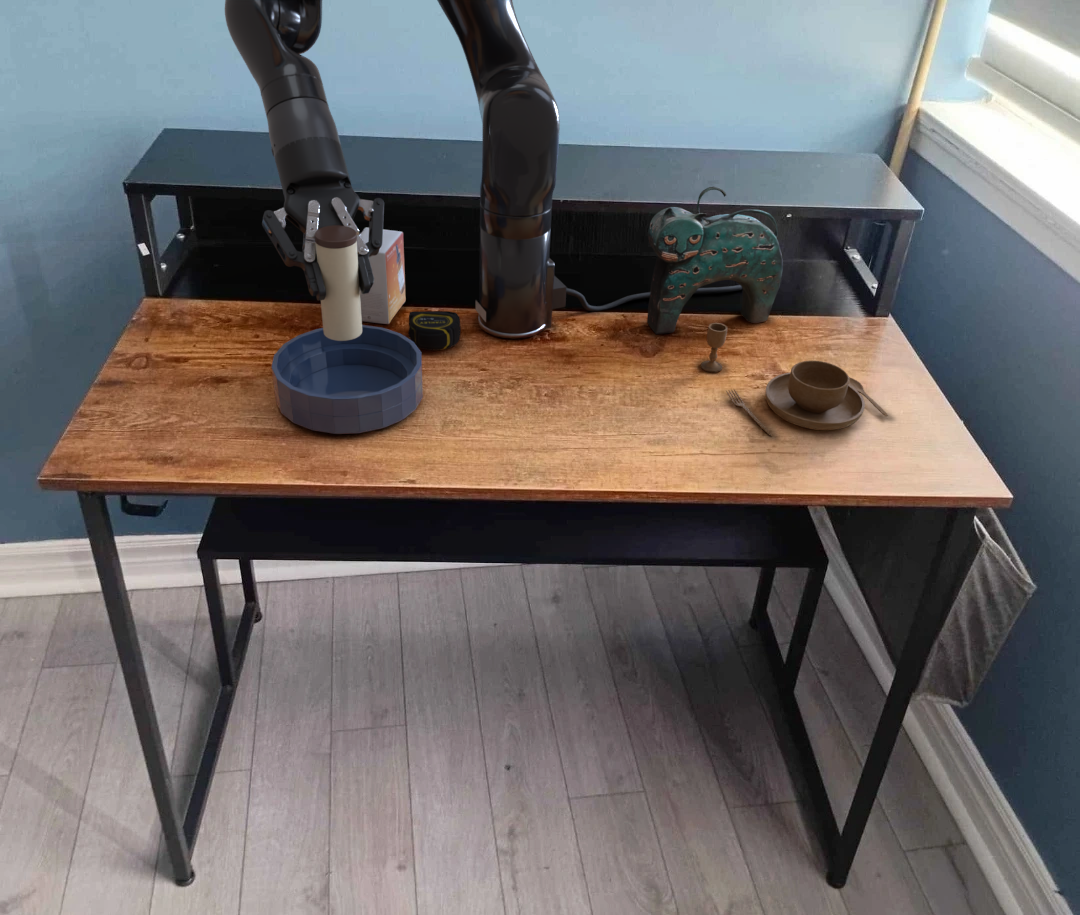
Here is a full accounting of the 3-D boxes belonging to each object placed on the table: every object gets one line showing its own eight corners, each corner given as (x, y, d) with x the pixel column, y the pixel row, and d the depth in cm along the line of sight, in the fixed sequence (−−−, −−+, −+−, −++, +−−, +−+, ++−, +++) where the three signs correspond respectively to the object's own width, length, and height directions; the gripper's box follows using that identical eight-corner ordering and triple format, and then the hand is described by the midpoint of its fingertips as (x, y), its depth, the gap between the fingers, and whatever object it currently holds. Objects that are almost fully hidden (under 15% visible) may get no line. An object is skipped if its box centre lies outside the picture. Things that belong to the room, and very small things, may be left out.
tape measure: (460, 331, 133) (460, 306, 131) (460, 356, 127) (460, 331, 125) (409, 331, 132) (408, 306, 130) (407, 356, 127) (406, 330, 125)
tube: (356, 320, 115) (349, 222, 108) (367, 337, 112) (361, 238, 105) (318, 326, 113) (309, 227, 106) (328, 344, 110) (320, 244, 103)
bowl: (397, 353, 127) (395, 315, 124) (442, 421, 115) (442, 381, 112) (263, 377, 121) (258, 338, 118) (296, 452, 109) (291, 410, 105)
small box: (388, 326, 133) (385, 253, 127) (349, 320, 134) (344, 248, 128) (407, 300, 140) (404, 230, 134) (369, 295, 140) (365, 225, 134)
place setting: (776, 447, 113) (786, 404, 110) (693, 364, 128) (699, 324, 125) (899, 421, 119) (911, 380, 116) (805, 345, 134) (814, 306, 131)
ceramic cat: (646, 340, 133) (664, 197, 122) (630, 318, 138) (645, 179, 127) (778, 326, 138) (806, 188, 127) (757, 305, 143) (783, 171, 132)
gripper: (244, 140, 104) (282, 292, 102) (375, 128, 109) (413, 273, 107) (241, 172, 110) (276, 315, 109) (364, 160, 116) (399, 296, 114)
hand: (344, 293), depth 108 cm, fingers closed on tube, 4 cm apart
